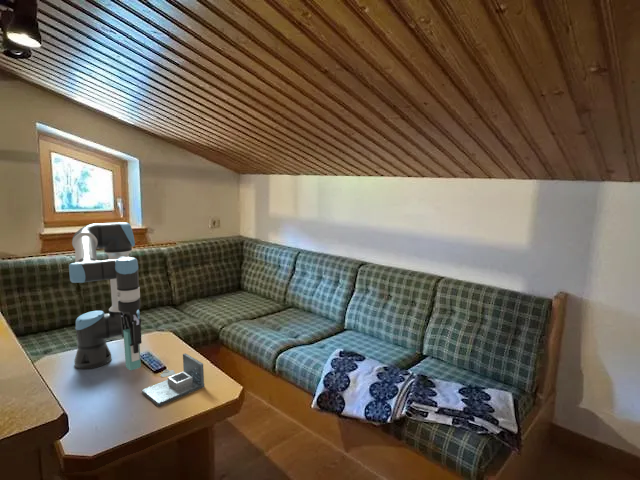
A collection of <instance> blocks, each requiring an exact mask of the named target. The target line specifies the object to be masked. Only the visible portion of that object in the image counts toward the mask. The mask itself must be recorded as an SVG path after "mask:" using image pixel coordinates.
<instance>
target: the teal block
mask: <svg viewBox="0 0 640 480" xmlns="http://www.w3.org/2000/svg"><path fill="white" fill-rule="evenodd" d="M123 333H124V337H123V342H124V343H123V345H124V346H123V348H124V359H125V368H127V370H129V371H130V372H131V371H134V370H137V369H140V368H141V367H142V363H141V346H140V345H141V344H139V357H140V359H139V360H136V361H133V362H132V360H131V346H130V344H132V343H131V336H130V330H129V329H125V330H123Z"/></svg>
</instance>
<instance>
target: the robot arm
mask: <svg viewBox="0 0 640 480" xmlns="http://www.w3.org/2000/svg"><path fill="white" fill-rule="evenodd" d="M71 241H72V242H71V245H72V247H73V249H74V253H75V254H74V256H75V261H74V262H71V263H69V265H68V271H69V274H68V275H69V281H70V282H71V283H73V284H75V283H76V284H77V283H80V284H83V283H90V282H97V281H99V282H100V281H108V280H109V281H110V295H111V306H110V307H109V308H108V313H107V312H106V313H105V312H104V311H103V310H93V311H88V312H86V313H82V314H80V315H79V316H78V317H77V318H76V319H75V327H74V329H75V332H76V345H77V350H76V353H75V358H74V359H73V360H74V367H75V368H77V369H80V370H89V369H97V368H99V367H102V366H105V365H106V364H108V363H109V362H111V361H112V352H111V350H110V349H109V346H108V344H107V340H108V339H112V338H119V337H122V338H124V333H123V330H125V329H129V330H130V336H131V343H132V344H130V346H131V360H132V362H133V361H136V360H139V359H140V360H141V356H140V357H139V344H140V345H141V344H142V343H143V342H142V318H141V317H140V315H141V314H140V309H141V299H140V298H141V292H140V289H141V288H140V280H139V277H140V276H139V275H140V274H139V264H138V263H139V262H138V259H137V258H136V257H133V256H132V257H131V256H130V255H129V254H130V253H131V252H133V249H132V248H134V247H135V246H136V242H135V236H134V232H133V228H132V225H131V224H130V222H124V221H122V222H121V221H118V222H115V221H114V222H103V223H102V222H100V223H98V222H97V223H90V224H87V225H85V226H83V227H81V228H80V229H78V230H77V231H76V232H75V233H74V235H73V236H72V240H71ZM101 249H103V250H104V251H103V252H104V254H105V255H106V256H108V259H103V260H101V259H100V260H98V256H97V255H98V254H97V250H101Z"/></svg>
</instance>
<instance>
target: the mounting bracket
mask: <svg viewBox="0 0 640 480" xmlns="http://www.w3.org/2000/svg"><path fill="white" fill-rule="evenodd" d="M175 374H176V372H175V370H174V369H164V370H163V371H162V373H160V377H161V378H165V377H167V378H168V377H170V376H172V375H175Z"/></svg>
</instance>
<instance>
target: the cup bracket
mask: <svg viewBox="0 0 640 480" xmlns="http://www.w3.org/2000/svg"><path fill="white" fill-rule="evenodd" d="M182 362H183V363H182V365H183V371H181V372H178V373H175V374H174V375H171V376H167V379H166V380H163V381H161V382H159V383H155V384H153V385H150V386H148V387H146V388H143V389H141V394H142V395H144V396H145V397H146V398H147V399H149V400H150V401H151V402H152V403H154V404H155V406H157V407H162V406H165V405H166V404H169V403H171V402H173V401H175V400H176V401H177V399H180V398H182V397H184V396H187V395H189V394H191V393H194V392H196V391H198V390H200V389H203V388H205V376H204V363H203V362H201V361H199V360H197V359H196V358H194V357H193V356H190V355H189V354H187V353H183V354H182Z"/></svg>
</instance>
